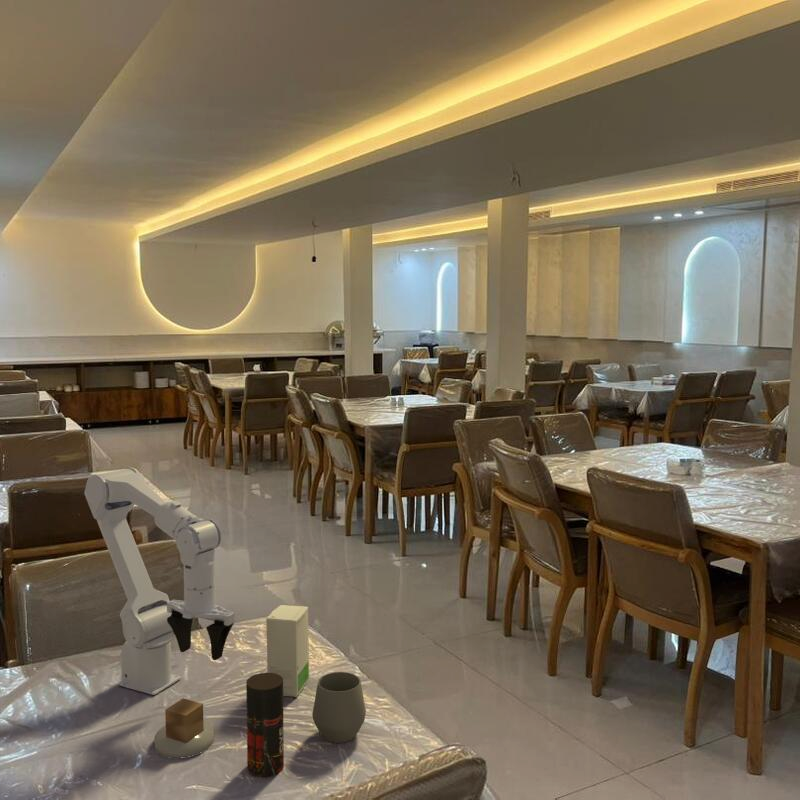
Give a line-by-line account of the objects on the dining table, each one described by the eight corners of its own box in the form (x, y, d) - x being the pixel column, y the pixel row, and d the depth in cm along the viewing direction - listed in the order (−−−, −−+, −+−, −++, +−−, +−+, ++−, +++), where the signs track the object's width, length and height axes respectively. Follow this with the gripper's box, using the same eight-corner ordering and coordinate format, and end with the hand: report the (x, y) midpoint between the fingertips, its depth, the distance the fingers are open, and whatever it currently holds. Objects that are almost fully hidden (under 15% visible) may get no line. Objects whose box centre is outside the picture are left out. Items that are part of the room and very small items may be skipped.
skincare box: (296, 698, 153) (296, 621, 151) (264, 694, 154) (264, 618, 152) (310, 678, 161) (310, 605, 159) (279, 675, 162) (279, 602, 160)
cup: (324, 754, 134) (324, 699, 132) (304, 728, 142) (304, 675, 141) (374, 741, 138) (374, 687, 137) (352, 716, 146) (353, 665, 145)
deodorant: (249, 757, 133) (248, 673, 131) (284, 756, 133) (284, 672, 131) (245, 778, 127) (244, 690, 125) (282, 777, 127) (281, 689, 125)
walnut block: (165, 737, 136) (165, 709, 135) (183, 724, 140) (182, 698, 139) (186, 743, 134) (185, 715, 133) (203, 730, 138) (203, 703, 138)
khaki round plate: (142, 753, 134) (142, 742, 134) (178, 725, 144) (178, 714, 143) (191, 766, 131) (190, 755, 130) (225, 736, 140) (225, 726, 140)
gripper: (154, 585, 147) (156, 654, 149) (217, 598, 141) (218, 670, 143) (180, 574, 153) (181, 640, 155) (241, 586, 147) (242, 655, 149)
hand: (201, 654), depth 149 cm, fingers open, 7 cm apart
